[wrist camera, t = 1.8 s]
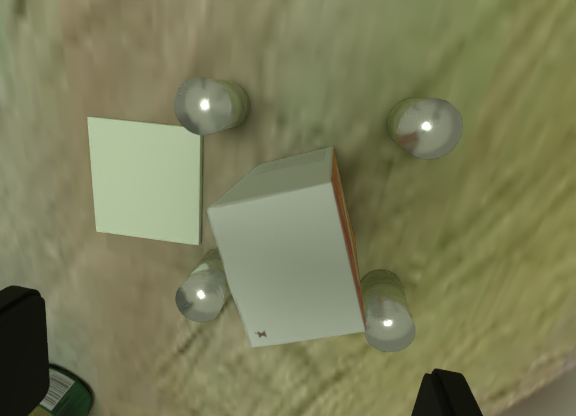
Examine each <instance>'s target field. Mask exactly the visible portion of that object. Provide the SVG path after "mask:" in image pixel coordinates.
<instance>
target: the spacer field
mask: <svg viewBox="0 0 576 416" xmlns="http://www.w3.org/2000/svg"><path fill="white" fill-rule="evenodd" d="M174 109H175V113H176V116H177V118H178V120H179V122H180V123H181V125H182V126H183V127H184V128H185V129H187V130H188V131H189V132H191V133H193V134H196V135H210V134H213V133H216V132H220V131H223V130H226V129H229V128H233V127H236V126H238V125H240V124H241V123H243V122H244V121H245V119H246V118H247V116H248V114H249V111H250V100H249V97H248V94H247V92H246V91H245V89H244V88H243V87H242V86H240V85H239V84H237V83H235V82H232V81H225V80H218V79H210V78H202V77H196V78H192V79H189V80H187V81H185V82H184V83H183V84H182V85H181V86H180V87H179V89H178V90H177V92H176V95H175V99H174ZM387 128H388V132H389V134H390V136H391V138H392V139H393V140H394V141H395V142H397V143H398V144H399V145H400V146H402V147H403V148H404V149H405V150H407V151H408V152H409V153H410V154H412V155H413V156H415V157H418V158H421V159H436V158H439V157H442V156H444V155H446V154H447V153H449V152H450V151H451V150H452V149H453V148H454V147H455V146H456V144H457V143H458V141H459V139H460V137H461V133H462V119H461V116H460V114H459V112H458V110H457V109H456V108H455V107H454V106H453V105H452V104H450V103H449V102H447V101H445V100H441V99H428V98H409V99H405V100H403V101H401V102H399V103H398V104H396V105H395V106H394V107H393V109H392V110H391V112H390V114H389V116H388V120H387ZM360 284H361V293H362V301H363V308H364V316H365V322H366V331H365V337H366V339H367V341H368V342H369V343H370V344H371V345H372V346H373V347H374V348H376V349H378V350H381V351H384V352H396V351H400V350H402V349H404V348H406V347H407V346H409V345H410V344H411V342H412V341H413V339H414V337H415V325H414V322H413V319H412V316H411V313H410V310H409V307H408V304H407V301H406V298H405V295H404V292H403V289H402V286H401V283H400V281H399V279H398V278H397V277H396V276H395V275H394V274H393V273H391V272H389V271H385V270H375V271H372V272H370V273H368V274H367V275H365V276H364V278H363V279H362V281H361V283H360ZM230 292H231V291H230V288H229V285H228V282H227V278H226V274H225V270H224V266H223V263H222V260H221V257H220V253H219V250H218V248H216V249H213V250H211V251H210V252H208V253H207V255H206V256H205V257H204V258H203V259H202V261H201V262H200V263H199V264H198V266H197V267H196V268H195V269H194V270H193V272H192V273H191V274H190V275H189V276H188V278H187V279H186V280H185V281H184V283H183V284H182V285H181V286H180V287H179V289H178V290H177V293H176V304H177V307H178V309H179V311H180V312H181V313H182V314H183V315H184V316H185V317H186V318H188V319H190V320H192V321H195V322H208V321H211V320H213V319H214V318H215V317H216V316H217V315H218V314H219V312H220V310H221V308H222V307H223V305H224V303H225V301H226V299H227V297H228V296H229V294H230Z"/></svg>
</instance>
